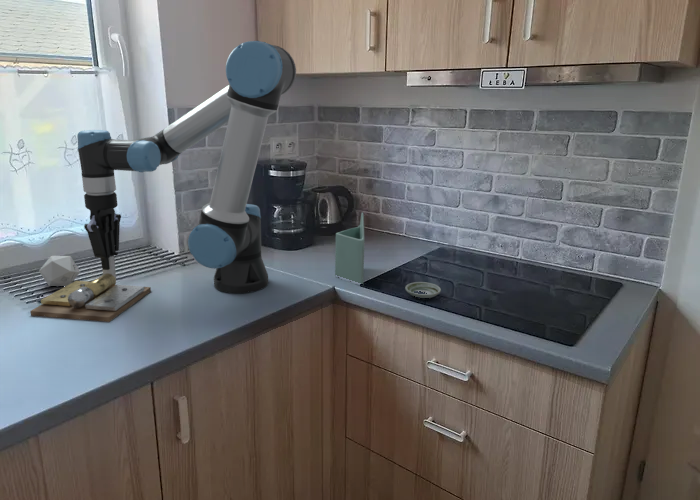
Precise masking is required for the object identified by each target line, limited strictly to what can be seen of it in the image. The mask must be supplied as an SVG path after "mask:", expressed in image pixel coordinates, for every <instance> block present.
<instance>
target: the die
mask: <svg viewBox="0 0 700 500" xmlns="http://www.w3.org/2000/svg"><path fill="white" fill-rule="evenodd" d="M38 272H39V273H40V275H41V276H42V278H43V279H44V282H46V284H47V285H48V287H49V286H67V285H69V284H71V283H73V282H75V281H76V278H77V277H78V276H79V275H80V273H81V270H80V269H79V267H78V266H77V264H76V261H74V259H73V258H72V256H71V255H50V257H48V259H47V260H46V261H45V263H44V264H42V266H41V268H40V269H39V270H38Z"/></svg>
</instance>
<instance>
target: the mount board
mask: <svg viewBox="0 0 700 500" xmlns="http://www.w3.org/2000/svg"><path fill="white" fill-rule="evenodd" d="M116 285H117V284H115V286H116ZM113 287H114V286H113ZM113 287H112V288H113ZM143 287H144V291H143V292H141V293H140V294H138V295H137V296H136V297H134V298H133V299H131V300H130V301H129V302H127V303H126V304H124V305H123V306H122V307H120V308H119V309H117V310H116V311H109V310H97V309H86V307H85V305H86V304H87V303H86V304H85V305H83V306H82V307H80V308H75V307H73V306H63V305H50V304H40V305H39V306H37V307H35V308H33V309H31V310H30V316H34V317H43V318H54V319H55V318H56V319H67V320H68V319H69V320H81V321H95V322H107V323H110V322H111V321H113V320H114V319H115V318H117V317H119V316H120V315H121V314H122V313H123V312H125V311H126V310H128V309H129V308H130V307H132V306H133V305H134V304H135V303H137V302H138V301H140V300H142V299H143V298H144V297H146V296H147V295H148V294H150V293H151V291H152V288H151V287H150V286H143ZM110 289H111V288H110ZM107 291H108V290H107ZM104 293H105V292H104ZM102 294H103V293H102ZM102 294H101V295H102ZM99 296H100V295H99ZM96 298H97V297H96ZM94 299H95V298H94ZM94 299H93V300H94ZM91 301H92V300H91ZM88 303H89V302H88Z"/></svg>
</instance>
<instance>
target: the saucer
mask: <svg viewBox="0 0 700 500" xmlns="http://www.w3.org/2000/svg"><path fill="white" fill-rule="evenodd" d="M404 287H405V288H404V289H405V291H406V293H408V294H409V295H410V296H412V297H414V296H415V297H414V298H416V297H420V298H429V299H431V298H434V297H436V296H438V295H439V294H440V293H441V292H442V289H441V287H440V286H439V285H438V284H435V283H431V282H425V281H415V282H411V283H408V284H406V285H405V286H404ZM414 291H418V292H419V291H421V292H423V293H424V292H425V294H418V293H414ZM426 293H427V294H426ZM420 298H419V299H420Z"/></svg>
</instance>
